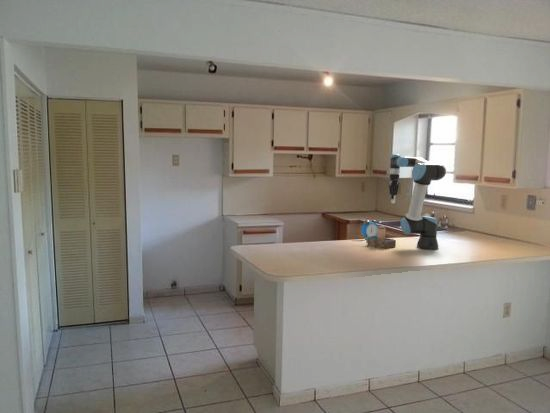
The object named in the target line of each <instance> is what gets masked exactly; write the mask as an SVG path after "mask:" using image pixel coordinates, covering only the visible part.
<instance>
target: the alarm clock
mask: <svg viewBox="0 0 550 413" xmlns="http://www.w3.org/2000/svg"><path fill="white" fill-rule="evenodd" d="M378 226H379V225H378V224H377V220H376V219H371V220H368V219H366V220H364V221H363V224H362V226H361V229H360V230H361V234H362V236H364V237H365V238H367V237H368V236H373V235H377V233H378Z"/></svg>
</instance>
